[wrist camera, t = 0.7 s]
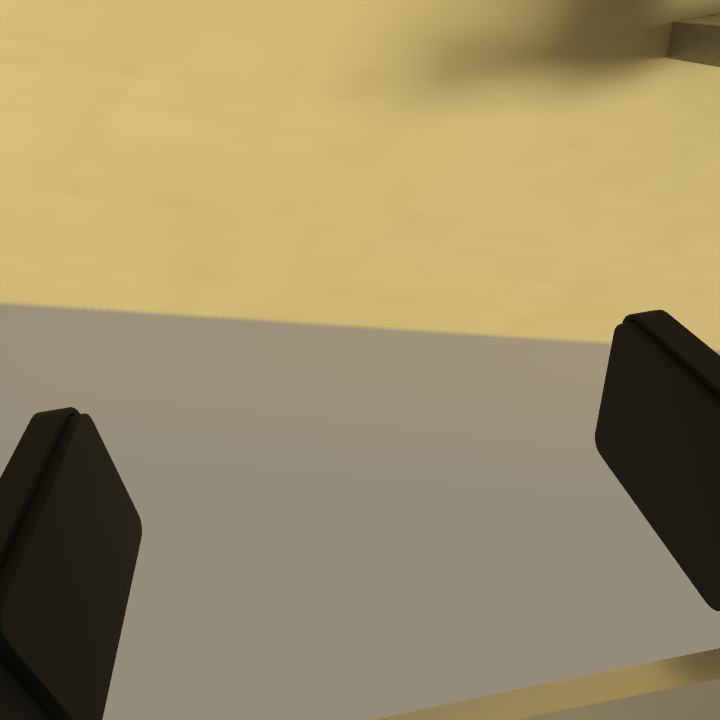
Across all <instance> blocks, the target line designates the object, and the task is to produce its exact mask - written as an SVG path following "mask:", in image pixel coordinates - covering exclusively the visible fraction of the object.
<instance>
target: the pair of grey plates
mask: <svg viewBox="0 0 720 720" xmlns="http://www.w3.org/2000/svg"><path fill="white" fill-rule="evenodd" d="M668 58H671V59H676V60H682V61H688V62H693V63H699V64H705V65H711V66H716V67H720V14H719V15H713V16H707V17H701V18H695V19H688V20H682V21H676V22H674V23H673V29H672V35H671V41H670V47H669V54H668Z"/></svg>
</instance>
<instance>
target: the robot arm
mask: <svg viewBox="0 0 720 720" xmlns="http://www.w3.org/2000/svg"><path fill="white" fill-rule="evenodd" d="M595 442H596V447H597V449H598V452H599V453H600V455H601V456H602V458H603V459H604V461H605V462H606V463H607V465H608V466H609V468H610V469H611V470H612V471H613V473H614V475H615V476H616V477H617V479H618V480H619V482H620V483H621V484H622V486H623V487H624V489H625V490H626V491H627V493H628V494H629V495H630V497H631V498H632V500H633V501H634V503H635V504H636V505H637V507H638V508H639V509H640V511H641V512H642V514H643V515H644V516H645V518H646V519H647V521H648V522H649V523H650V525H651V526H652V528H653V529H654V530H655V532H656V533H657V535H658V536H659V537H660V539H661V540H662V542H663V543H664V544H665V546H666V547H667V549H668V550H669V551H670V553H671V554H672V556H673V557H674V558H675V560H676V561H677V562H678V564H679V565H680V567H681V568H682V570H683V571H684V572H685V574H686V575H687V577H688V578H689V579H690V581H691V582H692V584H693V585H694V586H695V588H696V589H697V590H698V592H699V593H700V595H701V596H702V597H703V599H704V600H705V601H706V603H707V604H708V605H709V606H710V607H711V608H712V609H714V610H716V611H720V356H719V355H718V354H717V353H716V352H715V351H713V350H712V349H711V348H710V347H708V346H707V345H706V344H705V343H704V342H702V341H701V340H700V339H699V338H697V337H696V336H695V335H694V334H692V333H691V332H690V331H689V330H688V329H686V328H685V327H684V326H683V325H681V324H680V323H679V322H678V321H677V320H675V319H674V318H673V317H672V316H670V315H669V314H668V313H667V312H665V311H663V310H654V311H648V312H642V313H636V314H630V315H628V316H626V317H625V319H624V320H623V323H622V324H619V325H617V327H616V328H615V331H614V335H613V340H612V346H611V351H610V357H609V362H608V367H607V373H606V378H605V383H604V389H603V394H602V400H601V405H600V410H599V417H598V421H597V427H596V432H595ZM141 536H142V526H141V520H140V517H139V515H138V513H137V511H136V509H135V507H134V504H133V502H132V501H131V498H130V496H129V494H128V492H127V490H126V488H125V486H124V484H123V482H122V480H121V478H120V476H119V474H118V472H117V470H116V467H115V465H114V463H113V461H112V459H111V457H110V455H109V453H108V451H107V449H106V447H105V445H104V443H103V441H102V439H101V437H100V435H99V433H98V431H97V429H96V426H95V424H94V423H93V420H92V419H91V417H90V416H89V415H88V414H85V413H84V414H80V413H79V412H78V411H77V410H76V409H75V408H72V407H69V408H63V409H57V410H51V411H45V412H39V413H36V414H35V415H34V416H33V417H32V419H31V421H30V423H29V424H28V426H27V428H26V430H25V432H24V434H23V436H22V438H21V440H20V442H19V443H18V445H17V447H16V449H15V451H14V453H13V455H12V457H11V459H10V461H9V463H8V464H7V466H6V468H5V470H4V472H3V474H2V476H1V478H0V720H102V718H103V714H104V709H105V704H106V700H107V695H108V690H109V686H110V681H111V676H112V672H113V667H114V663H115V658H116V653H117V648H118V644H119V639H120V635H121V630H122V625H123V621H124V616H125V611H126V607H127V602H128V597H129V593H130V588H131V583H132V579H133V574H134V570H135V565H136V560H137V556H138V551H139V546H140V542H141ZM372 720H720V648H719V649H714V650H709V651H704V652H700V653H695V654H690V655H685V656H680V657H675V658H670V659H665V660H660V661H655V662H650V663H645V664H640V665H635V666H631V667H625V668H621V669H616V670H611V671H605V672H600V673H595V674H591V675H585V676H580V677H576V678H571V679H566V680H561V681H556V682H551V683H546V684H541V685H537V686H532V687H527V688H522V689H517V690H512V691H508V692H503V693H498V694H493V695H488V696H483V697H479V698H474V699H469V700H464V701H459V702H454V703H450V704H445V705H440V706H435V707H430V708H426V709H421V710H416V711H411V712H407V713H401V714H397V715H392V716H387V717H382V718H377V719H372Z"/></svg>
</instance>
